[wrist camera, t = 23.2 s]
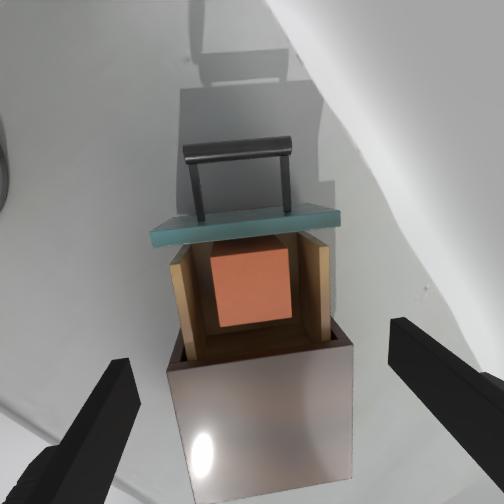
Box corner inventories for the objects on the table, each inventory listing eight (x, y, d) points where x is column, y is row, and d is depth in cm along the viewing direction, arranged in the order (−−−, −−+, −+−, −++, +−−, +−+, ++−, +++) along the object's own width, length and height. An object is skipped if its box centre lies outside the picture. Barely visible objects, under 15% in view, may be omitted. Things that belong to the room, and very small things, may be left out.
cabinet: (185, 310, 29) (165, 371, 19) (313, 293, 30) (353, 344, 20) (204, 414, 33) (195, 507, 23) (317, 396, 34) (352, 479, 24)
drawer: (161, 155, 24) (131, 142, 16) (305, 142, 25) (340, 124, 17) (194, 337, 29) (182, 392, 21) (312, 321, 30) (341, 368, 22)
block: (213, 240, 25) (209, 257, 19) (274, 233, 25) (288, 248, 20) (221, 296, 27) (220, 327, 21) (278, 289, 27) (292, 317, 21)
